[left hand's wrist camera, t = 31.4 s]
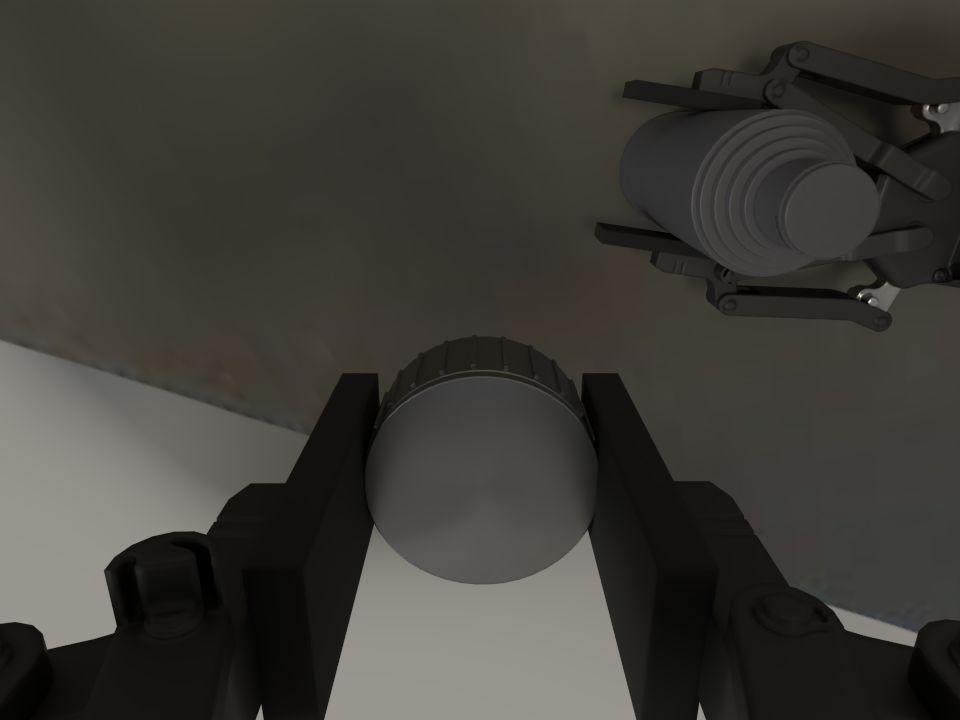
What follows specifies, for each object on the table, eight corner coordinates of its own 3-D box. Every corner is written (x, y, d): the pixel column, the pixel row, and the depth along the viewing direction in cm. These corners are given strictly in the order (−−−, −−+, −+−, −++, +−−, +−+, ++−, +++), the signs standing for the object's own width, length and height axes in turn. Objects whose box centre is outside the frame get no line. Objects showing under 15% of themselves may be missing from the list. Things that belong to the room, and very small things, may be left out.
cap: (598, 339, 14) (619, 381, 12) (574, 525, 16) (589, 592, 13) (379, 327, 14) (359, 367, 12) (377, 515, 16) (361, 581, 13)
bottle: (631, 234, 44) (747, 328, 24) (609, 129, 42) (718, 140, 22) (734, 206, 43) (939, 279, 24) (718, 98, 41) (929, 80, 22)
